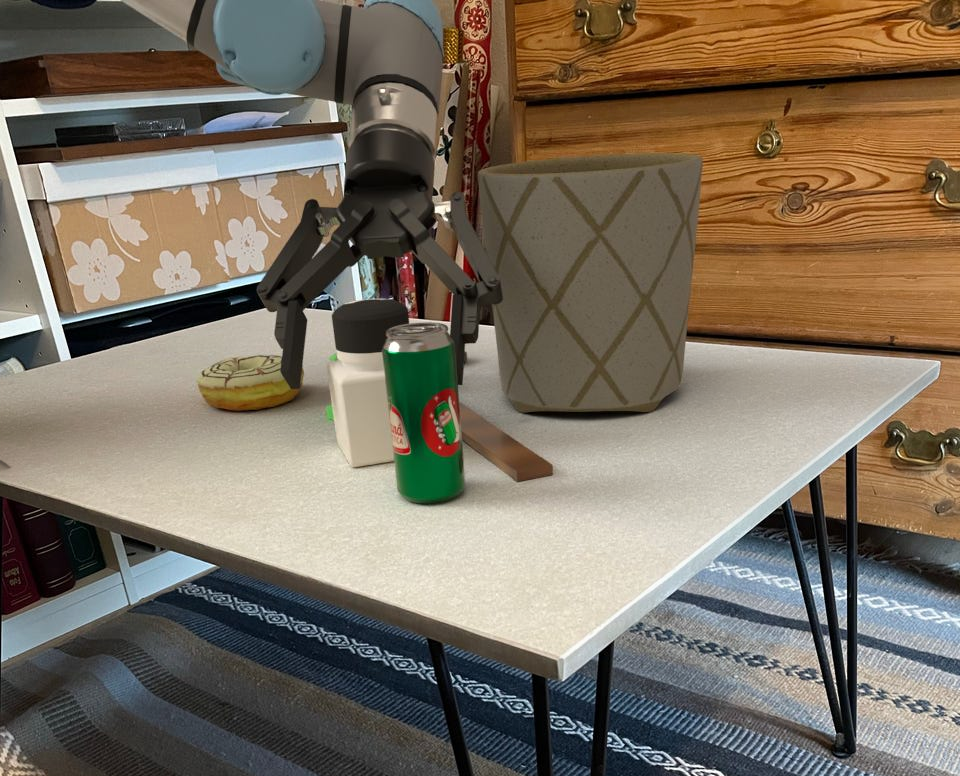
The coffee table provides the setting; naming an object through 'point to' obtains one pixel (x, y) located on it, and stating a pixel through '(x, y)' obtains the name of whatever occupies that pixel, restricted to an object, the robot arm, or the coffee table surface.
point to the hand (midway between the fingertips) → (371, 379)
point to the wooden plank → (501, 448)
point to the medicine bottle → (362, 379)
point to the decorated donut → (246, 383)
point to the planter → (592, 277)
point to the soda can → (424, 411)
